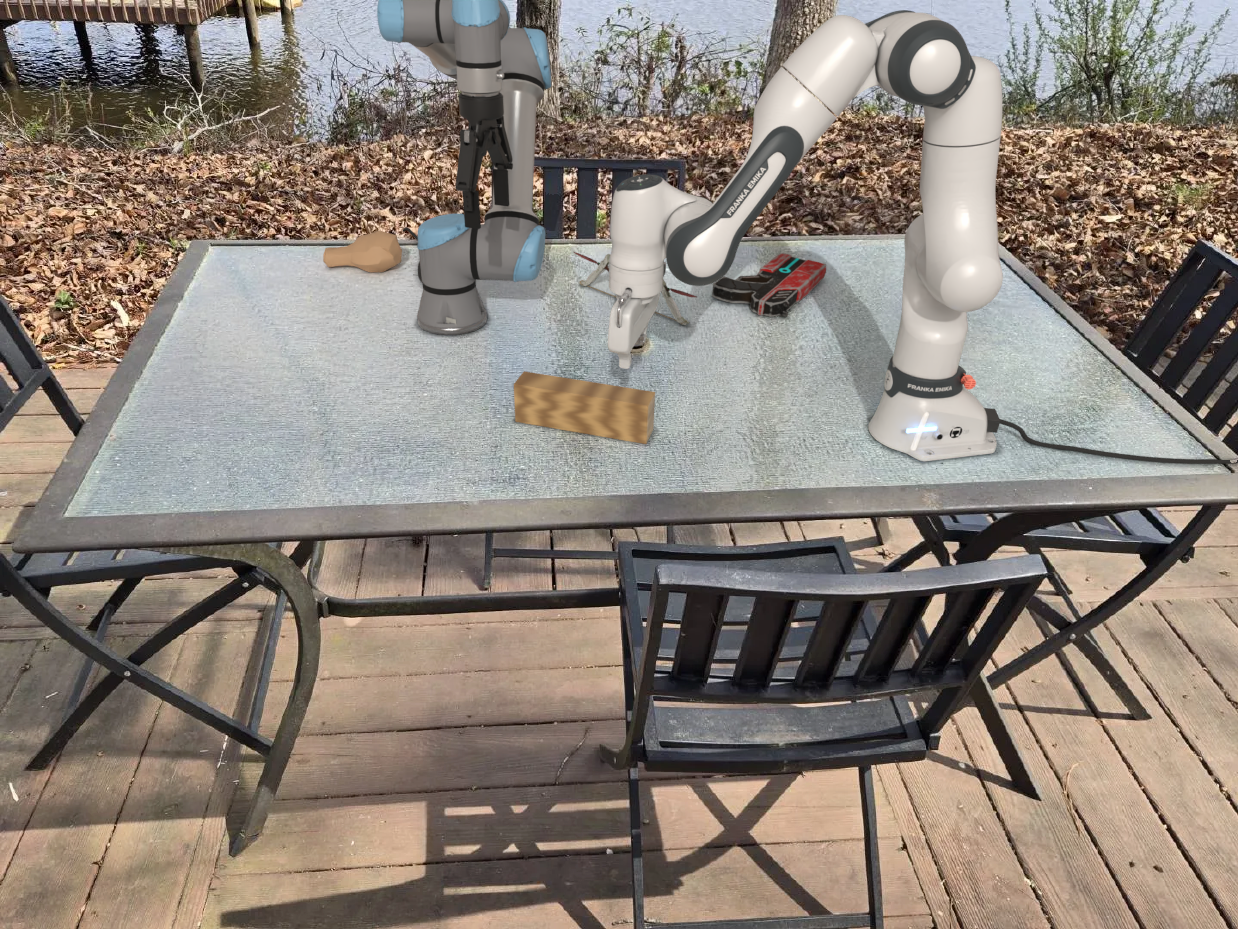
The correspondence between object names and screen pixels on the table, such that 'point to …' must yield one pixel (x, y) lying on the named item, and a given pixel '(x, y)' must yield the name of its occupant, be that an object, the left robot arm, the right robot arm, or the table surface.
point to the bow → (594, 275)
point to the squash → (367, 253)
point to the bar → (584, 407)
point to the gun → (772, 285)
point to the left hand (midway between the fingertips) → (488, 216)
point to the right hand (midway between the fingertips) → (632, 354)
